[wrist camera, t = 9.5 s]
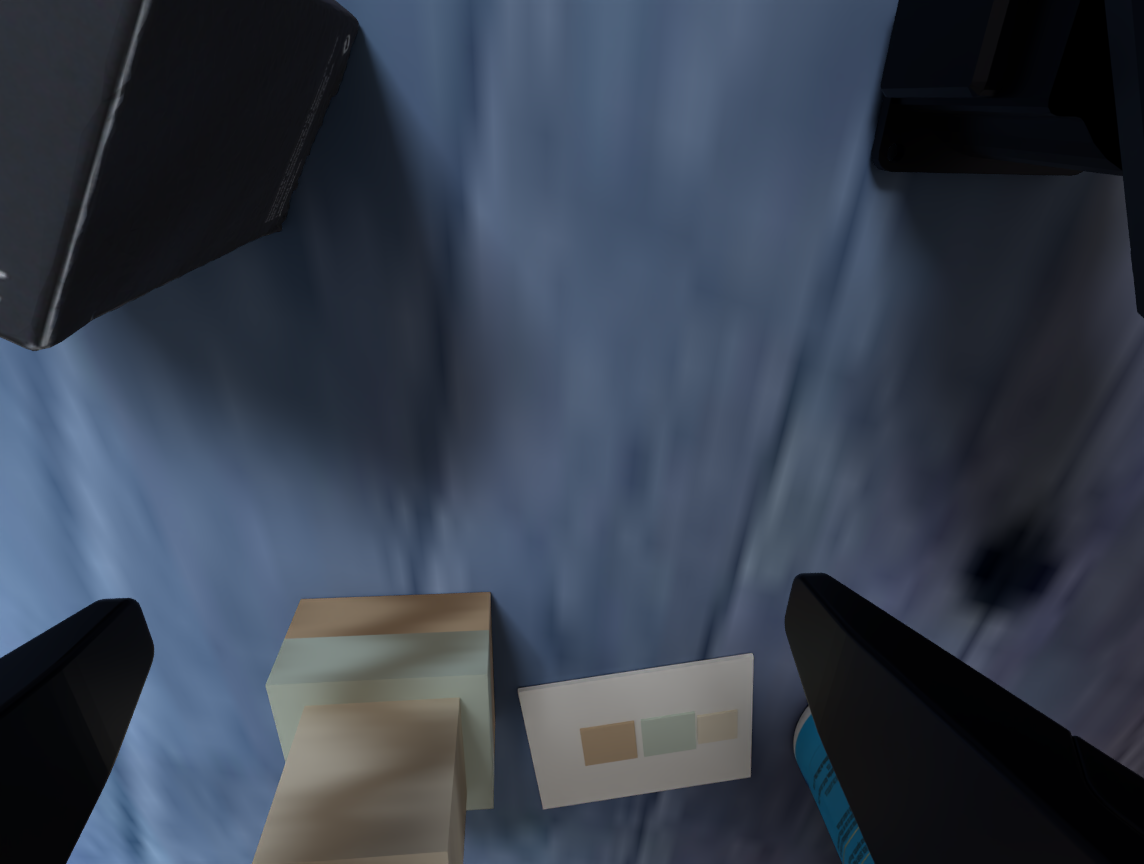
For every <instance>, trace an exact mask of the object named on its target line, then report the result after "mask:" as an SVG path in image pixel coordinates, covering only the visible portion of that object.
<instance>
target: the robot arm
mask: <svg viewBox="0 0 1144 864" xmlns="http://www.w3.org/2000/svg"><path fill="white" fill-rule="evenodd" d="M881 89H882V91H883V94H884V97H883V102H882V107H881V111H880V116H879V120H878V125H877V130H876V134H875V139H874V143H873V148H872V161H873V164H874V165H875V166H876V167H877V168H878V169H881V170H885V171H890V172H927V173H973V174H1019V175H1066V176H1072V175H1077V174H1079V173H1081V172H1083V171H1087V172H1095V173H1103V174H1111V175H1119V176H1123V181H1124V191H1125V200H1126V210H1127V219H1128V229H1129V238H1130V248H1131V261H1132V271H1133V276H1134V286H1135V295H1136V305H1137V312H1138V313H1139V314H1140V315H1141V316H1142V317H1143V318H1144V0H899V2H898V7H897V11H896V16H895V21H894V25H893V30H892V35H891V39H890V44H889V49H888V53H887V58H886V63H885V67H884V72H883V77H882V81H881ZM894 143H895V144H896V146H897V153H896V155H895V157H894V158H893V159H892V160H890V161H889V160H888V158H887V151H888V149H889V147H890V146H892V145H893V144H894ZM785 631H786V635H787V638H788V641H789V644H790V648H791V651H792V654H793V657H794V660H795V663H796V667H797V670H798V673H799V676H800V679H801V683H802V686H803V689H804V692H805V695H806V698H807V702H808V705H809V708H810V711H811V714H812V717H813V720H814V723H815V726H816V729H817V732H818V734H819V737H820V739H821V742H822V744H823V747H824V749H825V751H826V754H827V756H828V758H829V760H830V763H831V765H832V767H833V770H834V772H835V774H836V777H837V779H838V781H839V783H840V786H841V788H842V790H843V793H844V795H845V797H846V799H847V802H848V804H849V806H850V809H851V811H852V813H853V815H854V818H855V820H856V822H857V825H858V827H859V829H860V831H861V834H862V836H863V838H864V841H865V843H866V845H867V848H868V850H869V852H870V854H871V857H872V859H873V861H874V864H1144V778H1143V777H1141V776H1139V775H1138V774H1136V773H1135V772H1133V771H1131V770H1130V769H1128V768H1127V767H1125V766H1124V765H1122V764H1120V763H1119V762H1117V761H1116V760H1114V759H1112V758H1111V757H1109V756H1108V755H1106V754H1105V753H1103V752H1101V751H1100V750H1098V749H1097V748H1095V747H1094V746H1092V745H1091V744H1089V743H1088V742H1086V741H1085V740H1083V739H1081V738H1080V737H1078V736H1072V735H1071V733H1070V731H1069V730H1067V729H1066V728H1064V727H1063V726H1061V725H1060V724H1058V723H1056V722H1055V721H1053V720H1052V719H1050V718H1049V717H1047V716H1046V715H1044V714H1043V713H1041V712H1039V711H1038V710H1036V709H1035V708H1033V707H1032V706H1030V705H1029V704H1027V703H1026V702H1024V701H1022V700H1021V699H1019V698H1018V697H1016V696H1015V695H1013V694H1012V693H1010V692H1009V691H1007V690H1005V689H1004V688H1002V687H1001V686H999V685H998V684H996V683H995V682H993V681H992V680H990V679H988V678H987V677H985V676H984V675H982V674H981V673H979V672H978V671H976V670H975V669H973V668H971V667H970V666H968V665H967V664H965V663H964V662H962V661H961V660H959V659H958V658H956V657H955V656H953V655H951V654H950V653H948V652H947V651H945V650H944V649H942V648H941V647H939V646H938V645H936V644H934V643H933V642H931V641H930V640H928V639H927V638H925V637H924V636H922V635H921V634H919V633H917V632H916V631H914V630H913V629H911V628H910V627H908V626H907V625H905V624H904V623H902V622H900V621H899V620H897V619H896V618H894V617H893V616H891V615H890V614H888V613H887V612H885V611H883V610H882V609H880V608H879V607H877V606H876V605H874V604H873V603H871V602H870V601H868V600H866V599H865V598H863V597H862V596H860V595H859V594H857V593H856V592H854V591H853V590H851V589H849V588H848V587H846V586H845V585H843V584H842V583H840V582H839V581H837V580H836V579H834V578H832V577H831V576H829V575H827V574H825V573H802V574H799V575H797V576H796V577H795V578H794V581H793V584H792V588H791V592H790V597H789V601H788V605H787V609H786V614H785ZM153 657H154V644H153V640H152V637H151V635H150V632H149V629H148V626H147V623H146V621H145V618H144V615H143V612H142V609H141V607H140V605H139V603H138V602H137V601H136V600H134V599H131V598H115V599H102V600H98V601H96V602H94V603H92V604H91V605H89V606H87V607H86V608H84V609H82V610H81V611H79V612H77V613H76V614H74V615H72V616H70V617H69V618H67V619H65V620H64V621H62V622H60V623H59V624H57V625H55V626H54V627H52V628H50V629H49V630H47V631H45V632H44V633H42V634H40V635H39V636H37V637H35V638H33V639H32V640H30V641H28V642H27V643H25V644H23V645H22V646H20V647H18V648H17V649H15V650H13V651H12V652H10V653H8V654H7V655H5V656H3V657H1V658H0V864H66V863H67V861H68V859H69V857H70V855H71V853H72V851H73V849H74V847H75V845H76V843H77V841H78V839H79V837H80V835H81V833H82V831H83V829H84V827H85V825H86V823H87V821H88V819H89V817H90V814H91V812H92V810H93V808H94V806H95V804H96V802H97V800H98V798H99V796H100V794H101V792H102V790H103V788H104V786H105V784H106V782H107V779H108V777H109V775H110V773H111V770H112V768H113V765H114V763H115V761H116V758H117V756H118V753H119V750H120V748H121V745H122V742H123V740H124V737H125V734H126V732H127V729H128V726H129V724H130V721H131V718H132V716H133V713H134V710H135V708H136V705H137V702H138V700H139V697H140V694H141V692H142V689H143V686H144V684H145V681H146V678H147V676H148V673H149V670H150V667H151V665H152V662H153Z"/></svg>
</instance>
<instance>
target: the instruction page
mask: <svg viewBox="0 0 1144 864" xmlns="http://www.w3.org/2000/svg"><path fill="white" fill-rule="evenodd" d="M753 662H754V656H753V654H752V653H748V654H742V655H735V656H729V657H722V658H715V659H709V660H702V661H695V662H689V663H682V664H676V665H669V666H662V667H656V668H649V669H643V670H636V671H629V672H623V673H616V674H609V675H603V676H596V677H590V678H583V679H576V680H570V681H563V682H556V683H550V684H543V685H537V686H530V687H523V688H518V695H519V699H520V704H521V709H522V713H523V718H524V723H525V727H526V732H527V737H528V741H529V746H530V750H531V755H532V760H533V764H534V769H535V774H536V778H537V783H538V788H539V792H540V797H541V801H542V806H543V809H550V808H556V807H562V806H569V805H575V804H582V803H588V802H595V801H601V800H607V799H614V798H620V797H627V796H633V795H639V794H646V793H652V792H659V791H665V790H671V789H678V788H684V787H691V786H697V785H703V784H710V783H716V782H723V781H729V780H735V779H742V778H748V777H751V744H752V703H753Z"/></svg>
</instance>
